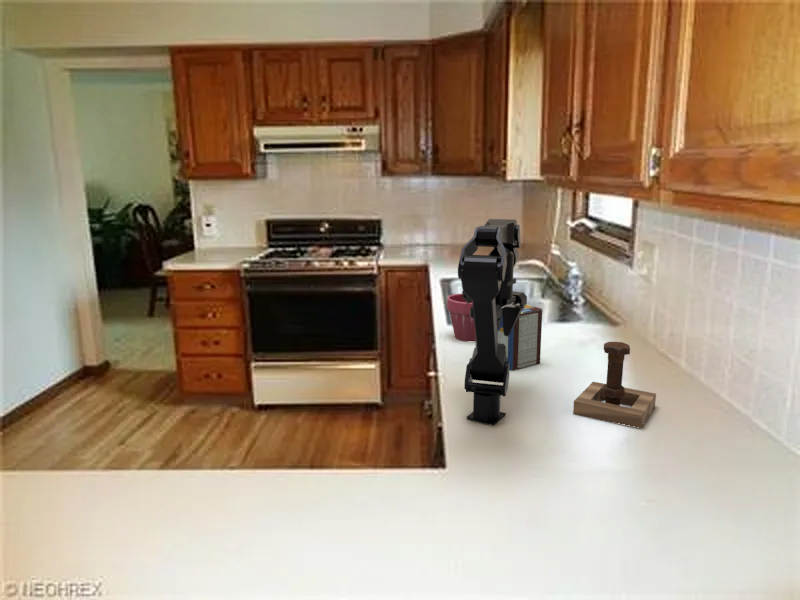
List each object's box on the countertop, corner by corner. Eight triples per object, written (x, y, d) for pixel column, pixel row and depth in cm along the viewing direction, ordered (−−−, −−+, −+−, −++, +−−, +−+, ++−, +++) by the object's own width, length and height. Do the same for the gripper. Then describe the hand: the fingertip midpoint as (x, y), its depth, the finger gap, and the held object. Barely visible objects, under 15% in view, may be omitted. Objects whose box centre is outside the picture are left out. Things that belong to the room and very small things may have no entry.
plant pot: (499, 335, 190) (501, 295, 188) (481, 347, 179) (482, 305, 176) (459, 329, 198) (459, 290, 195) (438, 339, 186) (438, 299, 183)
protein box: (502, 349, 176) (503, 297, 173) (540, 364, 164) (543, 308, 160) (474, 356, 171) (475, 302, 167) (512, 371, 158) (514, 314, 155)
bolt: (625, 416, 130) (631, 349, 127) (601, 414, 131) (605, 347, 128) (622, 405, 136) (627, 341, 132) (598, 403, 137) (603, 340, 134)
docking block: (640, 429, 124) (641, 415, 123) (573, 413, 132) (573, 401, 131) (654, 406, 135) (656, 393, 135) (592, 393, 143) (592, 381, 142)
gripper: (486, 265, 149) (484, 326, 153) (449, 277, 134) (448, 345, 137) (529, 269, 143) (526, 333, 146) (495, 283, 128) (493, 353, 131)
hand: (498, 340), depth 141 cm, fingers open, 9 cm apart
